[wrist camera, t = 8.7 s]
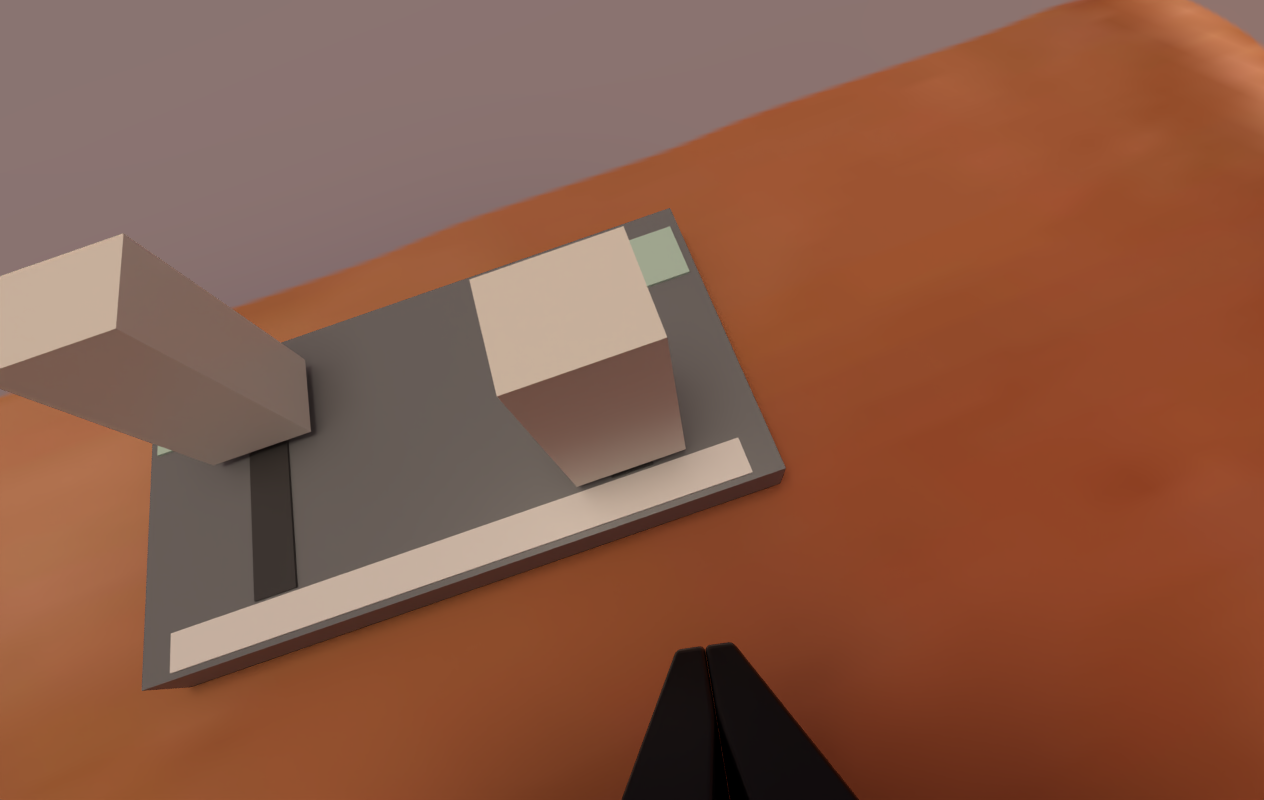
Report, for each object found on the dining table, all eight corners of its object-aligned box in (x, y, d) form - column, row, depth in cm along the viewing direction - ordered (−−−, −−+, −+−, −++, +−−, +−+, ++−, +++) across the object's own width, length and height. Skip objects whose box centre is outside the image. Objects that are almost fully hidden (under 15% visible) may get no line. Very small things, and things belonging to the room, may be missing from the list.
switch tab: (310, 431, 20) (116, 328, 14) (213, 465, 20) (-29, 378, 14) (305, 359, 22) (123, 233, 15) (212, 391, 22) (-9, 279, 15)
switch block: (780, 483, 20) (785, 467, 18) (189, 687, 20) (138, 691, 18) (673, 237, 24) (669, 206, 22) (193, 404, 24) (152, 385, 22)
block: (685, 449, 18) (667, 337, 12) (576, 487, 18) (496, 396, 12) (655, 368, 19) (623, 226, 13) (553, 403, 19) (469, 279, 13)
